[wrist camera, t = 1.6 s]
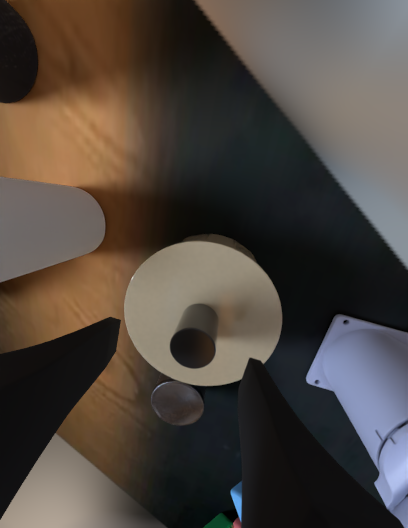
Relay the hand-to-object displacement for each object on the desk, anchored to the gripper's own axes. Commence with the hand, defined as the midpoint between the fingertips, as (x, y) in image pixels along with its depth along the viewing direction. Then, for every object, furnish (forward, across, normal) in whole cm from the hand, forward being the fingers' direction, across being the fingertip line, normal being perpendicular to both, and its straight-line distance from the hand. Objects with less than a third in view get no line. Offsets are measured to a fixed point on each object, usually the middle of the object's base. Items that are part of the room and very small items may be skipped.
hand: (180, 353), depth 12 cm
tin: (+10, 0, +10) cm, 14 cm away
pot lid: (+4, -1, 0) cm, 4 cm away
